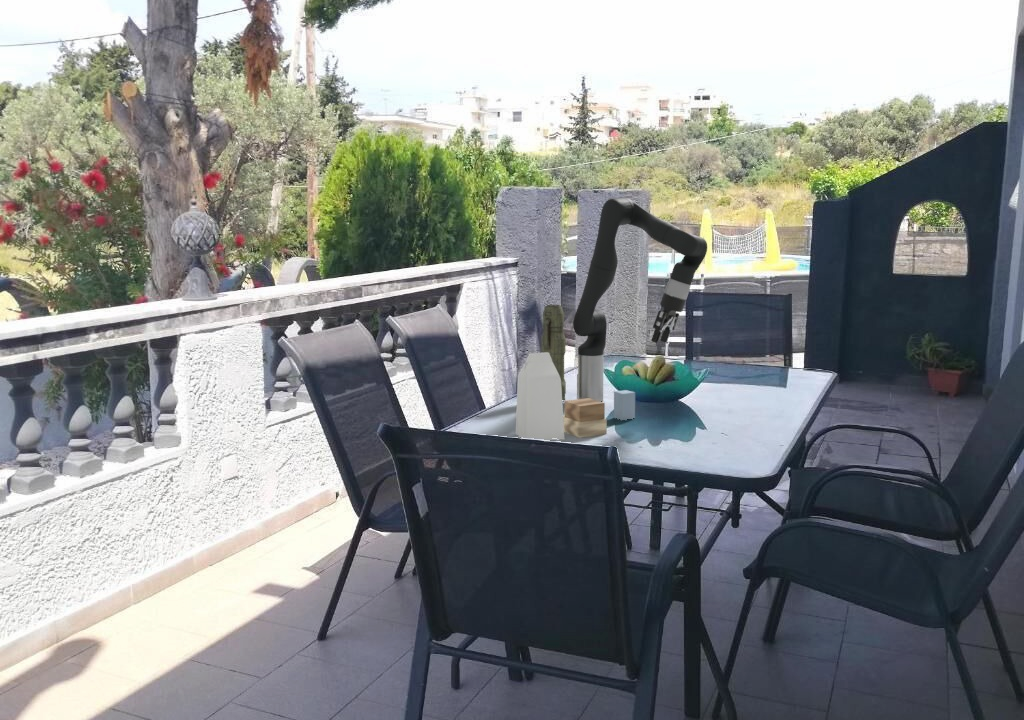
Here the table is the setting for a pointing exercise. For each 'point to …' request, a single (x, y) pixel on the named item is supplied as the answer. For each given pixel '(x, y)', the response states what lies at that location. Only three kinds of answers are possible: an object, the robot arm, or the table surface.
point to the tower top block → (584, 410)
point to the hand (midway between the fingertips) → (658, 341)
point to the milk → (539, 399)
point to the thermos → (554, 339)
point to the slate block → (624, 405)
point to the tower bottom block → (585, 427)
